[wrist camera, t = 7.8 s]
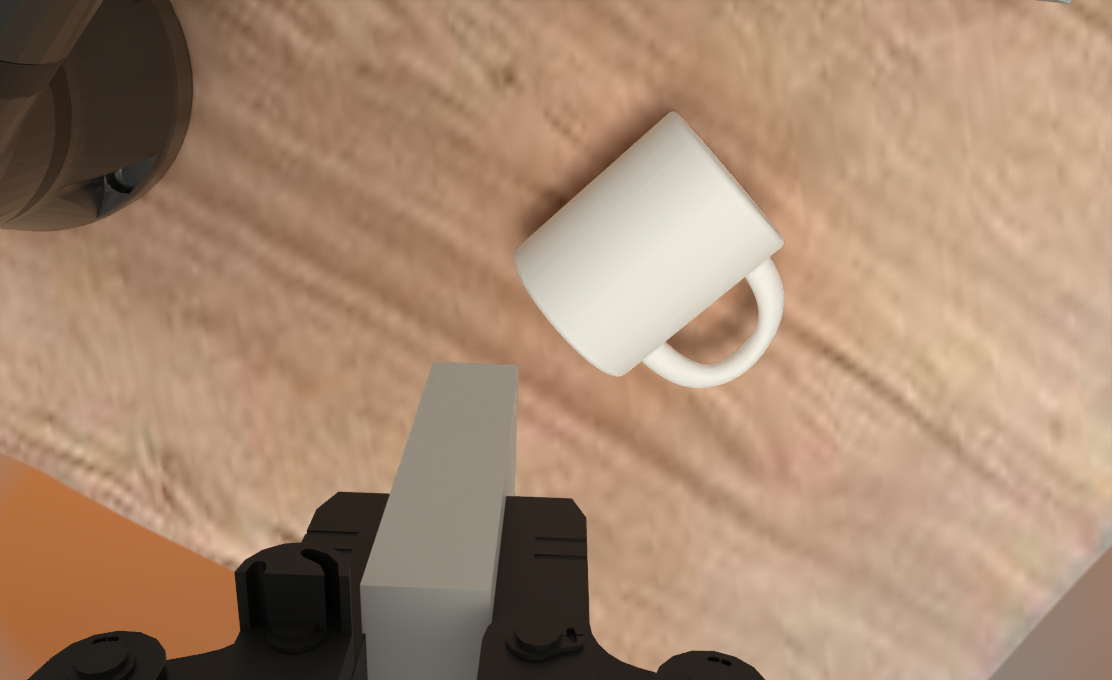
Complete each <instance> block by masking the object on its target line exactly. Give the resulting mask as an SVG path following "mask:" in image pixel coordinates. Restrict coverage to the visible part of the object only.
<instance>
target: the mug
mask: <svg viewBox="0 0 1112 680" xmlns="http://www.w3.org/2000/svg"><path fill="white" fill-rule="evenodd" d="M783 245H784V239H783V237H782V236H781V234H780V233H779V232H778V230H777V229H776V228H775V227H774V225H773V224H772V223H771V222H770V220H769V219H768V218H767V217H766V215H765V214H764V213H763V212H762V211H761V209H760V208H759V207H758V206H757V204H756V203H755V202H754V201H753V200H752V198H751V197H750V196H749V195H748V194H747V192H746V191H745V190H744V189H743V188H742V186H741V185H740V184H739V183H738V182H737V180H736V179H735V178H734V177H733V176H732V175H731V173H730V172H729V171H728V170H727V169H726V167H725V166H724V165H723V164H722V163H721V162H720V160H719V159H718V158H717V157H716V156H715V155H714V153H713V152H712V151H711V150H710V149H709V148H708V146H707V145H706V144H705V143H704V142H703V141H702V140H701V138H700V137H699V136H698V135H697V134H696V133H695V132H694V130H693V129H692V128H691V127H690V126H689V125H688V124H687V123H686V121H685V120H684V119H683V118H682V117H681V116H680V115H679V114H678V113H677V112H673V111H672V112H669V113H668V114H667V115H666V116H665V117H663V118H662V119H661V120H660V121H659V122H658V123H657V124H656V125H654V126H653V127H652V128H651V129H650V130H649V131H648V132H647V133H646V134H644V135H643V136H642V137H641V138H640V139H639V140H638V141H637V142H635V143H634V144H633V145H632V146H631V147H630V148H629V149H628V150H626V151H625V152H624V153H623V154H622V155H621V156H620V157H619V158H617V159H616V160H615V161H614V162H613V163H612V164H611V165H610V166H608V167H607V168H606V169H605V170H604V171H603V172H602V173H601V174H599V175H598V176H597V177H596V178H595V179H594V180H593V181H592V182H590V183H589V184H588V185H587V186H586V187H585V188H584V189H583V190H581V191H580V192H579V193H578V194H577V195H576V196H575V197H574V198H572V199H571V200H570V201H569V202H568V203H567V204H566V205H565V206H563V207H562V208H561V209H560V210H559V211H558V212H557V213H556V214H554V215H553V216H552V217H551V218H550V219H549V220H548V221H547V222H545V223H544V224H543V225H542V226H541V227H540V228H539V229H538V230H536V231H535V232H534V233H533V234H532V235H531V236H530V237H529V238H527V239H526V240H525V241H524V242H523V243H522V244H521V245H520V246H518V247H517V248H516V250H515V252H514V263H515V267H516V270H517V272H518V275H519V277H520V279H521V281H522V283H523V284H524V286H525V288H526V290H527V291H528V293H529V294H530V296H531V298H532V299H533V300H534V302H535V303H536V305H537V306H538V308H539V309H540V310H541V312H542V313H543V314H544V315H545V317H546V318H547V319H548V321H549V322H550V323H551V324H552V325H553V327H554V328H555V329H556V330H557V331H558V332H559V333H560V334H561V336H562V337H563V338H564V339H565V340H566V341H567V342H568V343H569V344H570V345H571V346H572V347H573V348H574V349H575V350H576V351H577V352H578V353H579V354H580V355H582V356H583V357H584V358H585V359H586V360H587V361H589V362H590V363H591V364H592V365H594V366H595V367H597V368H598V369H600V370H601V371H603V372H605V373H607V374H609V375H612V376H616V377H619V376H623V375H625V374H626V373H627V372H629V371H630V370H631V369H632V368H633V367H635V366H636V365H637V364H638V363H640V362H641V361H642V362H643V363H644V364H645V365H646V366H648V367H649V368H650V369H651V370H653V371H654V372H655V373H657V374H658V375H660V376H661V377H663V378H665V379H667V380H669V381H671V382H673V383H675V384H678V385H681V386H685V387H691V388H708V387H714V386H718V385H721V384H724V383H727V382H729V381H731V380H733V379H735V378H737V377H739V376H740V375H741V374H743V373H744V372H746V371H747V370H748V369H749V368H750V367H751V366H753V365H754V364H755V363H756V362H757V360H758V359H759V358H760V357H761V356H762V355H763V353H764V352H765V351H766V349H767V348H768V346H769V345H770V343H771V341H772V340H773V338H774V336H775V334H776V332H777V329H778V327H779V324H780V321H781V318H782V314H783V308H784V290H783V285H782V281H781V278H780V275H779V273H778V270H777V268H776V266H775V265H774V263H773V261H772V259H771V258H770V256H771V255H773V254H774V253H775V252H776V251H778V250H779V249H780V248H781V247H782V246H783ZM743 278H746V280H747V282H748V283H749V285H750V287H751V289H752V291H753V293H754V295H755V298H756V301H757V305H758V313H759V315H758V322H757V325H756V327H755V329H754V331H753V332H752V334H751V335H750V336H749V337H748V339H747V340H746V341H745V342H744V343H743V344H742V345H741V346H740V347H739V348H738V349H737V350H736V351H734V352H733V353H732V354H731V355H729V356H728V357H726V358H725V359H723V360H721V361H719V362H717V363H713V364H701V363H697V362H695V361H692V360H690V359H688V358H686V357H685V356H683V355H682V354H680V353H679V352H677V351H676V350H675V349H673V348H672V347H671V346H670V345H669V344H667V343H666V342H665V341H667V340H668V339H669V338H670V337H672V336H673V335H674V334H675V333H677V332H678V331H679V330H680V329H682V328H683V327H684V326H685V325H686V324H688V323H689V322H690V321H691V320H693V319H694V318H695V317H696V316H698V315H699V314H700V313H701V312H702V311H704V310H705V309H706V308H707V307H709V306H710V305H711V304H712V303H714V302H715V301H716V300H717V299H718V298H720V297H721V296H722V295H723V294H725V293H726V292H727V291H728V290H730V289H731V288H732V287H733V286H734V285H736V284H737V283H738V282H739V281H741V280H742V279H743Z"/></svg>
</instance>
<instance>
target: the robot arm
mask: <svg viewBox="0 0 1112 680" xmlns="http://www.w3.org/2000/svg"><path fill="white" fill-rule="evenodd" d="M191 103H192V76H191V67H190V60H189V55H188V51H187V47H186V43H185V39H184V36H183V33H182V30H181V28H180V25H179V22H178V20H177V18H176V15H175V13H174V11H173V9H172V7H171V5H170V3H169V1H168V0H0V229H10V230H23V231H58V230H65V229H71V228H75V227H80V226H84V225H87V224H90V223H93V222H96V221H99V220H101V219H103V218H106V217H107V216H109V215H111V214H113V213H115V212H117V211H119V210H120V209H122V208H124V207H126V206H128V205H129V204H131V203H132V202H134V201H136V200H137V199H139V198H140V197H141V196H143V195H144V194H145V193H147V192H148V191H149V190H150V189H151V188H152V187H153V186H154V185H155V184H156V183H157V182H158V181H159V180H160V179H161V178H162V177H163V175H164V174H165V173H166V171H167V170H168V169H169V167H170V166H171V164H172V163H173V161H174V159H175V157H176V155H177V154H178V152H179V149H180V147H181V145H182V142H183V140H184V137H185V134H186V131H187V127H188V123H189V118H190V112H191ZM517 393H518V365H506V364H481V363H456V362H433V365H432V368H431V371H430V374H429V377H428V380H427V383H426V386H425V389H424V392H423V395H422V398H421V401H420V404H419V407H418V411H417V414H416V417H415V420H414V423H413V426H412V429H411V432H410V435H409V438H408V441H407V444H406V447H405V450H404V453H403V456H402V459H401V462H400V465H399V468H398V471H397V474H396V477H395V480H394V483H393V486H392V490H391V493H390V494H384V493H359V492H337V493H336V494H335V495H334V496H332V497H331V498H330V499H329V500H328V501H326V502H325V503H324V504H323V505H321V506H320V507H319V508H318V509H316V512H315V514H314V516H313V518H312V520H311V523H310V525H309V527H308V529H307V534H305V536H304V538H303V540H302V542H301V543H286V544H281V545H278V546H274V547H271V548H267V549H264V550H262V551H260V552H258V553H256V554H255V555H253V556H251V557H249V558H248V559H246V560H245V561H244V562H243V563H242V564H241V565H240V567H239V568H238V569H237V570H236V571H235V582H236V592H237V601H238V612H239V622H240V633H239V635H238V637H237V639H236V641H235V643H234V644H232V645H230V646H227V647H225V648H222V649H219V650H215V651H211V652H207V653H203V654H198V655H192V656H187V657H181V658H176V659H170V660H166V652H165V650H164V648H163V647H162V646H161V644H160V643H159V642H158V640H157V639H155V638H153V637H150V636H148V635H146V634H143V633H141V632H129V631H115V632H109V633H103V634H97V635H93V636H91V637H88V638H86V639H83V640H80V641H78V642H75V643H73V644H71V645H69V646H68V647H66V648H65V649H63V650H62V651H61V652H59V653H58V654H56V655H55V656H53V657H52V658H51V659H50V660H49V661H47V662H46V663H45V664H44V665H43V666H42V667H41V668H40V669H39V670H37V671H36V672H35V673H34V674H33V675H32V676H31V677H30V678H29V679H27V680H765V679H764V678H763V677H762V676H761V675H760V673H759V672H758V671H757V670H756V669H755V668H754V667H752V666H750V665H749V664H747V663H745V662H743V661H742V660H740V659H738V658H737V657H734V656H730V655H727V654H723V653H719V652H716V651H689V652H686V653H682V654H679V655H675V656H673V657H671V658H670V659H669V660H667V661H666V662H665V663H663V664H662V665H661V666H660V667H659V669H658V671H657V673H655V672H652V671H648V670H645V669H641V668H638V667H635V666H632V665H630V664H627V663H624V662H622V661H620V660H618V659H617V658H615V657H613V656H612V655H610V654H608V653H607V652H606V651H605V650H604V649H603V648H602V647H601V646H600V645H599V644H598V643H597V641H596V639H595V638H594V636H593V634H592V632H591V627H590V623H589V592H588V560H587V528H586V517H585V515H584V514H583V513H582V511H581V510H580V509H579V507H578V506H577V505H576V503H575V502H574V501H573V499H571V498H546V497H520V496H515V469H516V431H517Z"/></svg>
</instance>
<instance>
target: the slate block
mask: <svg viewBox="0 0 1112 680" xmlns="http://www.w3.org/2000/svg"><path fill="white" fill-rule="evenodd" d="M1038 1H1048V2H1057V3H1067V4H1070V2H1071V0H1038Z"/></svg>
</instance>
